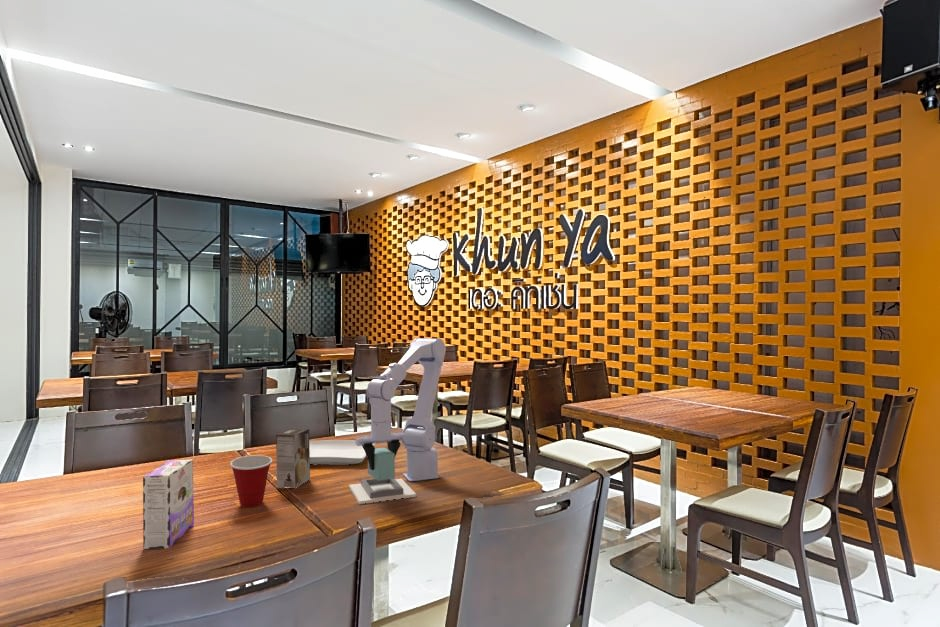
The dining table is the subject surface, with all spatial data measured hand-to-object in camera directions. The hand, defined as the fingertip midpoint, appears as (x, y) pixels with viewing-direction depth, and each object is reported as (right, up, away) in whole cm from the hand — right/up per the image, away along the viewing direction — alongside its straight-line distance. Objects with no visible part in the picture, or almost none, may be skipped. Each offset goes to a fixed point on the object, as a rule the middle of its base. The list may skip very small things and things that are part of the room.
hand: (381, 467), depth 163 cm
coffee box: (-28, -8, +8) cm, 30 cm away
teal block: (0, -2, 0) cm, 2 cm away
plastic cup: (-34, -8, -9) cm, 36 cm away
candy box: (-44, -8, -32) cm, 55 cm away
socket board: (0, -7, 0) cm, 7 cm away
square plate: (-24, -8, +40) cm, 47 cm away
